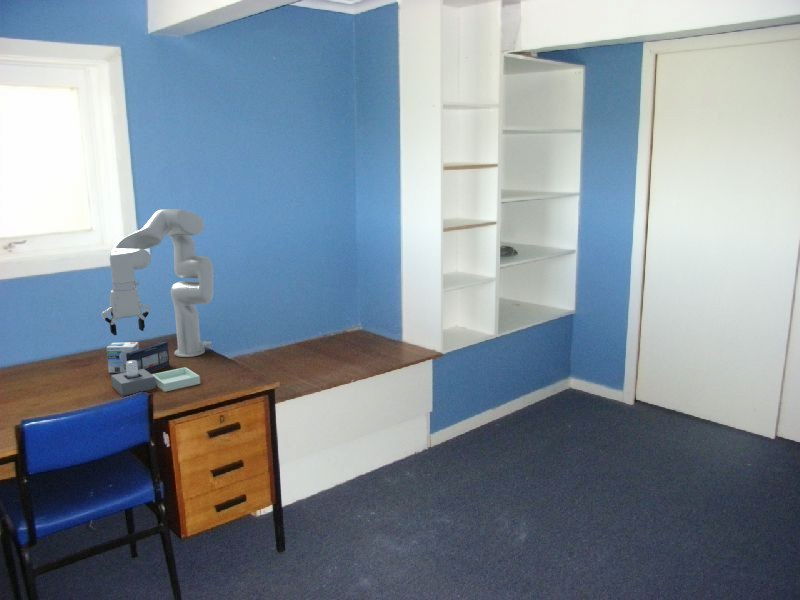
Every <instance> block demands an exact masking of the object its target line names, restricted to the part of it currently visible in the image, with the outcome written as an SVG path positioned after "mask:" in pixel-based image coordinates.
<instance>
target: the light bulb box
mask: <svg viewBox="0 0 800 600" xmlns="http://www.w3.org/2000/svg"><path fill="white" fill-rule="evenodd" d="M139 349H140V345H139V342H138V341H136V342H135V341H133V342H131V341H130V342H124V341H123V342H111V343H110V344H109V345H108V346H106V355H107V356H106V357H107V365H108V367H107V368H108V373H109V374H110V373H111V374H112V373H114V374H115V373H116V374H120V373H125V372H127V371H126V362H127V358H126V353H130V352H133V351H136V350H139Z"/></svg>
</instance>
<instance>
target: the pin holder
mask: <svg viewBox="0 0 800 600" xmlns="http://www.w3.org/2000/svg"><path fill="white" fill-rule="evenodd" d="M138 374H139V377H137V378H133V379H127V372H125V373H116V374H115V373H114V374H111V375H110V377H111V387H112V388H113V387H114V388H115V389H116V391H117V392H118V393H119V394H120V395H121V396H127V395H131V394H136V392H137V393H139V392H138V391H141V392H144V391H149V390H153V389H156V388H157V387H156V385H155V376H153V375H152V374H153V373H151V372H150V373H149V372H148V371H146V370H145V369H140V370H138ZM114 388H113V389H114ZM115 389H114V390H115Z"/></svg>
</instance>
